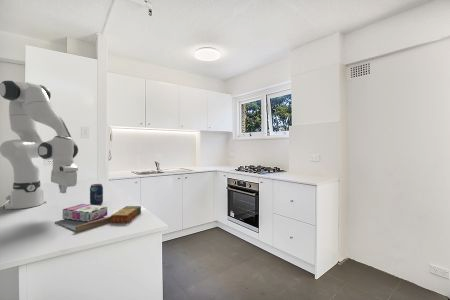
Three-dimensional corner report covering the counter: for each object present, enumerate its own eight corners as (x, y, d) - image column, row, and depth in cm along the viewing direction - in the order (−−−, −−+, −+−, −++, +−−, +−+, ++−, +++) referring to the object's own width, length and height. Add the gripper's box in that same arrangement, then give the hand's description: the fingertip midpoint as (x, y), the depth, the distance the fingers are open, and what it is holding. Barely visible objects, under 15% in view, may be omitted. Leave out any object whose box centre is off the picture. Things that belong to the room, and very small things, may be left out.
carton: (110, 223, 104) (110, 214, 104) (126, 213, 120) (126, 205, 120) (127, 224, 104) (127, 215, 104) (141, 213, 120) (141, 205, 120)
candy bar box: (62, 219, 106) (88, 222, 102) (62, 209, 106) (88, 212, 102) (82, 212, 117) (107, 215, 112) (82, 203, 117) (107, 205, 112)
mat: (54, 222, 103) (54, 221, 103) (90, 213, 117) (90, 212, 117) (75, 231, 93) (75, 230, 93) (111, 220, 107) (111, 219, 107)
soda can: (97, 205, 131) (97, 186, 131) (87, 205, 133) (87, 185, 132) (105, 202, 138) (105, 183, 138) (96, 202, 139) (96, 183, 139)
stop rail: (75, 231, 93) (75, 226, 93) (111, 220, 107) (111, 215, 107) (76, 232, 93) (76, 226, 92) (113, 221, 106) (113, 216, 106)
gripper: (47, 165, 117) (46, 191, 118) (65, 169, 107) (65, 197, 107) (60, 164, 123) (60, 189, 123) (79, 167, 112) (79, 194, 113)
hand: (62, 192), depth 115 cm, fingers closed
